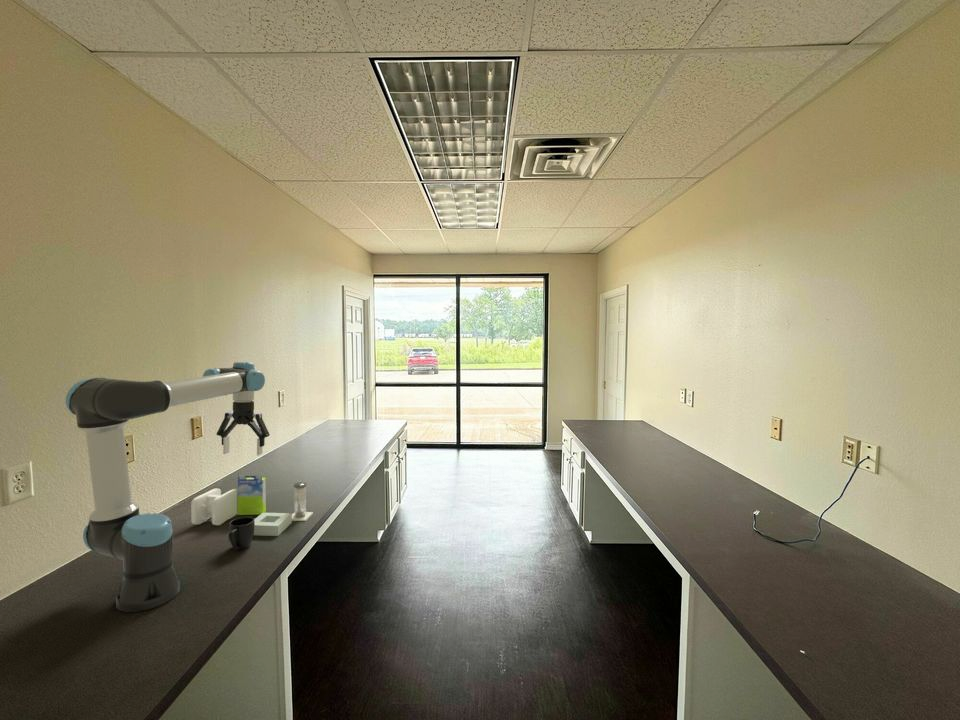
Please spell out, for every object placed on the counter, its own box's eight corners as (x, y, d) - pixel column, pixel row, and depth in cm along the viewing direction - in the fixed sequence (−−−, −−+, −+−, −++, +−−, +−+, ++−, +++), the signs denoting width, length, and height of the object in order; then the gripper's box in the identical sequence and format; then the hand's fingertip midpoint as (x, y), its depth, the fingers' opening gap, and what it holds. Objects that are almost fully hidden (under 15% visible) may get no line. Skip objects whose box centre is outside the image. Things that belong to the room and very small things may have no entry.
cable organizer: (214, 529, 176) (214, 500, 176) (190, 527, 177) (189, 499, 177) (239, 514, 191) (238, 487, 190) (216, 512, 192) (216, 486, 192)
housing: (278, 535, 172) (278, 525, 172) (247, 534, 172) (247, 524, 172) (291, 522, 184) (291, 513, 184) (263, 521, 184) (263, 512, 184)
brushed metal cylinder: (303, 518, 187) (303, 486, 186) (291, 517, 187) (291, 485, 186) (308, 513, 192) (308, 482, 191) (297, 513, 192) (296, 481, 191)
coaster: (305, 521, 186) (305, 519, 186) (286, 520, 186) (286, 519, 186) (313, 513, 194) (313, 512, 194) (295, 512, 194) (295, 511, 194)
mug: (218, 556, 155) (217, 530, 154) (237, 540, 167) (237, 516, 166) (241, 557, 155) (241, 531, 154) (258, 541, 167) (258, 517, 166)
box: (266, 511, 195) (266, 472, 194) (262, 515, 191) (262, 475, 190) (241, 511, 194) (240, 473, 193) (237, 515, 189) (236, 476, 188)
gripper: (279, 400, 179) (278, 452, 179) (218, 398, 180) (218, 450, 180) (269, 403, 171) (268, 457, 172) (206, 400, 172) (206, 454, 173)
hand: (242, 454), depth 176 cm, fingers open, 13 cm apart
